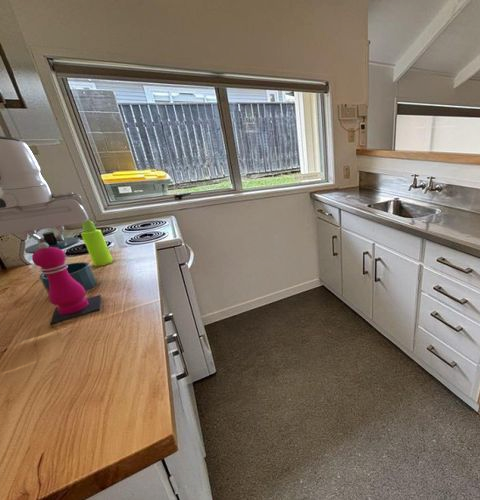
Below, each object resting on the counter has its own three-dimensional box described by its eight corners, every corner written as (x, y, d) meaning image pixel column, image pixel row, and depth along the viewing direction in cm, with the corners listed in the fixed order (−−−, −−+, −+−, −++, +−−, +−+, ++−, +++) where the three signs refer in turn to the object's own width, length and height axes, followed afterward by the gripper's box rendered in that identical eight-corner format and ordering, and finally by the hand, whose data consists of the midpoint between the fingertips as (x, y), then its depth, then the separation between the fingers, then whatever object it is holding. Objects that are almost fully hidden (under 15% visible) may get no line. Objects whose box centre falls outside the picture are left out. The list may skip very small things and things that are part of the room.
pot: (47, 304, 84) (36, 282, 81) (53, 289, 93) (43, 269, 90) (96, 291, 91) (87, 270, 88) (98, 278, 99) (89, 259, 96)
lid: (21, 259, 78) (13, 243, 76) (31, 247, 87) (23, 233, 85) (79, 247, 85) (72, 232, 83) (82, 237, 94) (76, 224, 92)
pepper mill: (65, 304, 82) (32, 240, 74) (95, 299, 84) (66, 236, 76) (51, 318, 75) (13, 249, 68) (84, 312, 78) (51, 244, 70)
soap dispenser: (94, 268, 107) (72, 217, 100) (94, 262, 112) (73, 214, 105) (113, 263, 111) (93, 214, 103) (112, 258, 116) (93, 211, 108)
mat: (51, 326, 74) (50, 323, 73) (57, 310, 81) (55, 307, 81) (100, 311, 79) (99, 308, 79) (101, 297, 87) (100, 294, 86)
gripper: (79, 190, 88) (96, 231, 93) (-20, 201, 77) (6, 248, 82) (77, 192, 83) (96, 236, 89) (-29, 205, 72) (0, 254, 77)
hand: (52, 242), depth 85 cm, fingers closed on lid, 2 cm apart
